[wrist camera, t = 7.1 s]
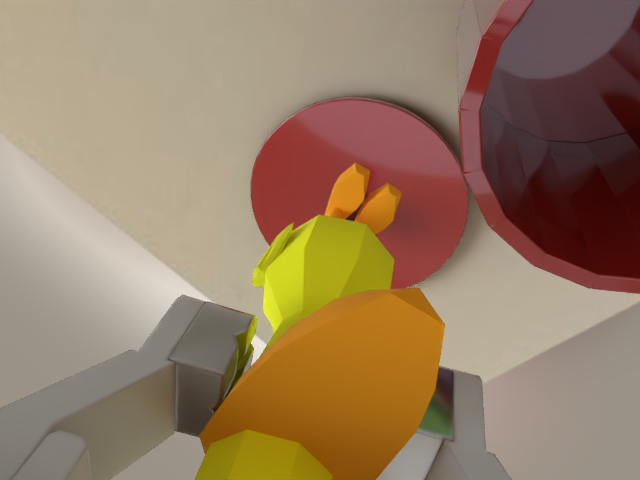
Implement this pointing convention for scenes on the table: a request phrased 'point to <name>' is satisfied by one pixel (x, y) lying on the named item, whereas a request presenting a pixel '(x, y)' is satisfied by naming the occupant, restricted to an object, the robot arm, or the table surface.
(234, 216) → the table surface
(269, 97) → the table surface
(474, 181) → the pot
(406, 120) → the lid
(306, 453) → the toy figure
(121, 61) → the table surface
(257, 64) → the table surface
